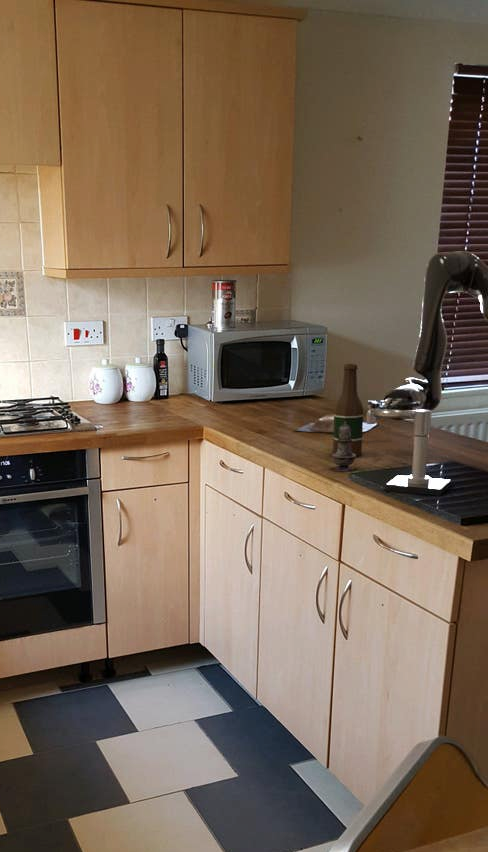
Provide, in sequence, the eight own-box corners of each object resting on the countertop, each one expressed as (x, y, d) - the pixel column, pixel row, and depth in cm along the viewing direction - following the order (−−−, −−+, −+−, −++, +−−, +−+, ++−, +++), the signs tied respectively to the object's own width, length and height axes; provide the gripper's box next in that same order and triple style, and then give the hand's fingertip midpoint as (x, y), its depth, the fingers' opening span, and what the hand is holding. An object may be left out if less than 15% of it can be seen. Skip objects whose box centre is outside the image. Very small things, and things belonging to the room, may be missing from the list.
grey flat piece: (377, 424, 283) (378, 412, 281) (359, 434, 266) (360, 421, 265) (316, 421, 292) (316, 409, 291) (294, 431, 275) (295, 418, 274)
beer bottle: (364, 453, 238) (368, 363, 231) (358, 458, 232) (362, 365, 224) (336, 451, 241) (339, 362, 234) (329, 457, 235) (332, 365, 227)
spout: (431, 433, 194) (433, 409, 193) (427, 436, 191) (429, 412, 190) (368, 429, 201) (369, 407, 199) (363, 432, 198) (364, 409, 196)
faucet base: (450, 486, 199) (454, 433, 195) (439, 495, 191) (443, 440, 187) (397, 481, 204) (400, 430, 201) (385, 490, 196) (388, 437, 192)
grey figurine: (336, 466, 223) (337, 419, 219) (358, 467, 220) (360, 420, 217) (328, 470, 218) (329, 422, 215) (351, 472, 216) (353, 423, 212)
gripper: (376, 385, 214) (354, 394, 200) (431, 387, 208) (412, 396, 194) (375, 416, 217) (353, 427, 203) (429, 419, 211) (410, 430, 196)
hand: (382, 412), depth 198 cm, fingers closed
